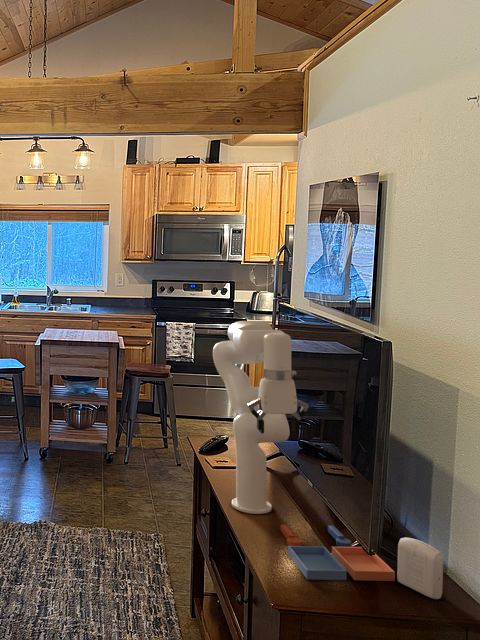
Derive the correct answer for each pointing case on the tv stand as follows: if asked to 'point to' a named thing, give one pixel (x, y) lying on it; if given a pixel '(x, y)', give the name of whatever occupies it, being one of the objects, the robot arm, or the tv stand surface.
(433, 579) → the photo printer
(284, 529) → the terracotta spoon
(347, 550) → the terracotta tray
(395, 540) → the tv stand surface
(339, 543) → the blue spoon
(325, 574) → the blue tray
